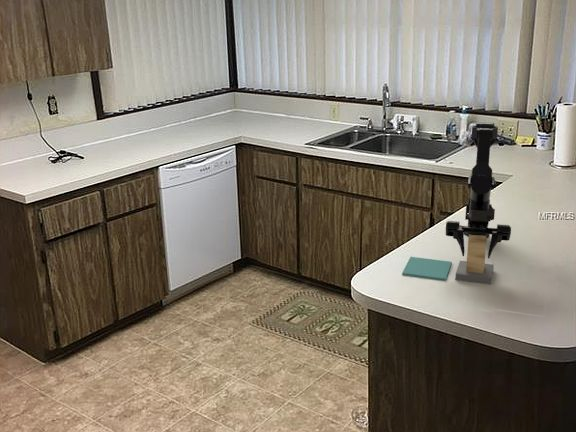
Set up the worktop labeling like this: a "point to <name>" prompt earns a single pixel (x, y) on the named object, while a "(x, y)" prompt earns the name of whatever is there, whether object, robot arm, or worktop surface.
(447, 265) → the teal mat
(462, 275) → the charcoal board
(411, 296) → the worktop surface
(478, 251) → the oak block
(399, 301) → the worktop surface
